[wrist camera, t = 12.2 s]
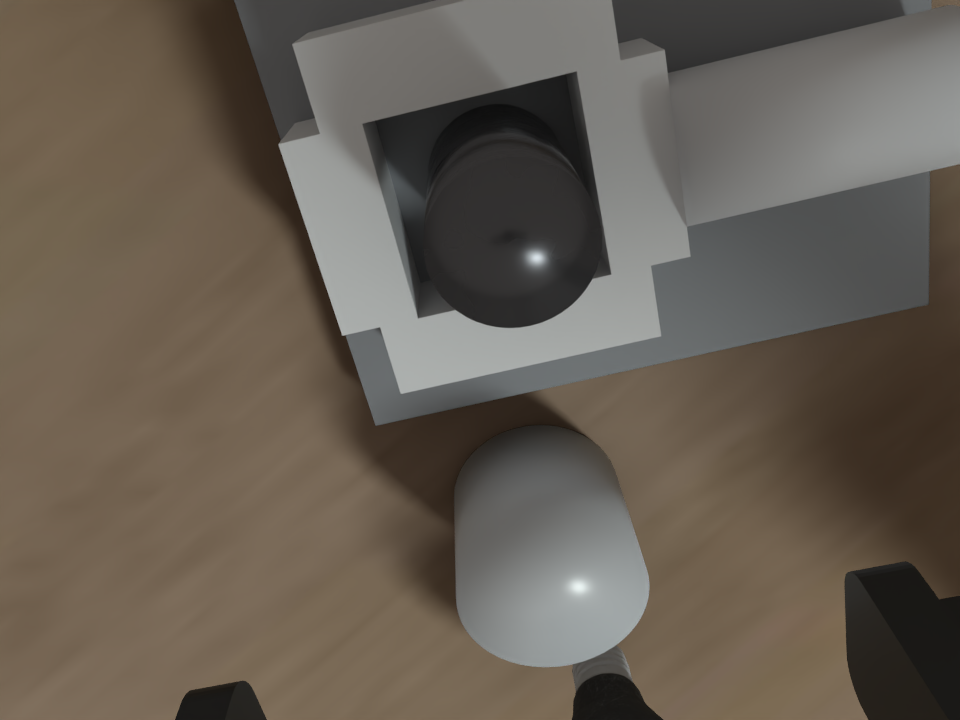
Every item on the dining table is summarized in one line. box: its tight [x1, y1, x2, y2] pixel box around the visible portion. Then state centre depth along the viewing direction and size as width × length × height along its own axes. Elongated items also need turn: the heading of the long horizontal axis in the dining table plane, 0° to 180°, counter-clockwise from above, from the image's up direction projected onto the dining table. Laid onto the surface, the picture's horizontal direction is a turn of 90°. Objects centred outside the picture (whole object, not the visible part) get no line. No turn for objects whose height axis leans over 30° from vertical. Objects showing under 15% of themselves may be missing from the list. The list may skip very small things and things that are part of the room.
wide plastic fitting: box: [454, 425, 649, 667], centre depth 33 cm, size 7×7×6 cm
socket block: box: [234, 0, 960, 426], centre depth 26 cm, size 20×16×6 cm
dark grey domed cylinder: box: [423, 104, 602, 328], centre depth 24 cm, size 4×4×7 cm
